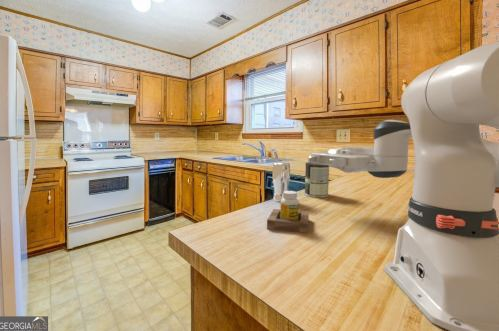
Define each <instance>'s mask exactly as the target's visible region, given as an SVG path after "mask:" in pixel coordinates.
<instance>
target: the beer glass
mask: <svg viewBox="0 0 499 331" xmlns="http://www.w3.org/2000/svg"><path fill="white" fill-rule="evenodd" d="M290 178H291V163H290V162H289V163H288V162H273V165H272V181H273V190H274V191H273V192H274V193H273V198H272V199H274V200H273V201H274V202H277V203H281V200H282V199H283V198H284V197H283V192H284V191H289V185H290Z"/></svg>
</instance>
